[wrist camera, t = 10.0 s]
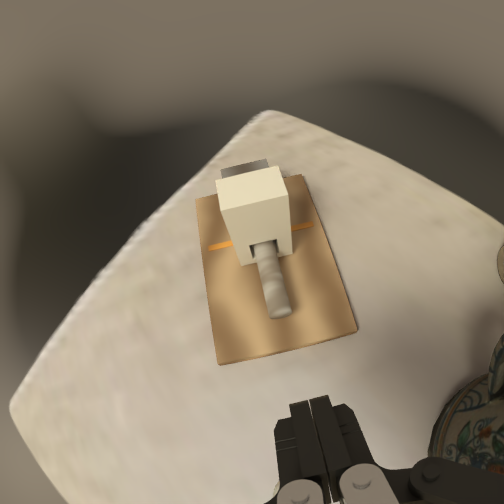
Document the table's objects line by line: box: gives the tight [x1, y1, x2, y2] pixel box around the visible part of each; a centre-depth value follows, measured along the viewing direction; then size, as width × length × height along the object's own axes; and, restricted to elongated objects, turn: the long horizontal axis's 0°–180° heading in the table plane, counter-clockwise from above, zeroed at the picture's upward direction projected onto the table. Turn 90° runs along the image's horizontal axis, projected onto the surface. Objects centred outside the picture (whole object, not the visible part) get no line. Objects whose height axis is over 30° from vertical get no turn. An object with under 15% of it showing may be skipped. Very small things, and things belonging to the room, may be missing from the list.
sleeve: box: [216, 166, 293, 266], centre depth 35 cm, size 6×4×11 cm, turn 101°
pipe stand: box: [195, 159, 357, 366], centre depth 38 cm, size 16×24×7 cm, turn 11°
